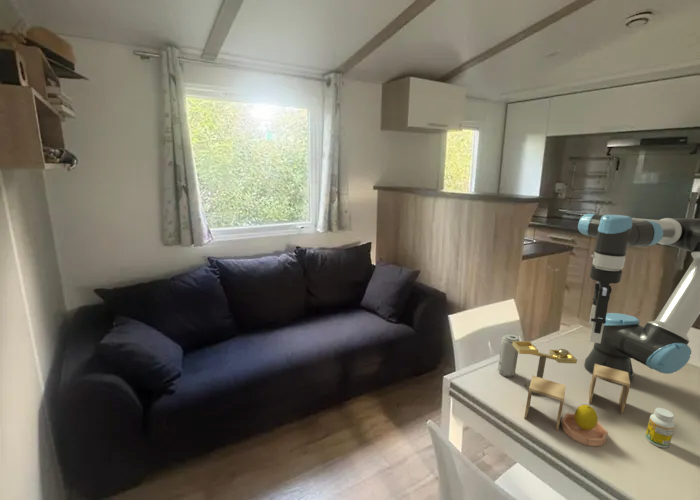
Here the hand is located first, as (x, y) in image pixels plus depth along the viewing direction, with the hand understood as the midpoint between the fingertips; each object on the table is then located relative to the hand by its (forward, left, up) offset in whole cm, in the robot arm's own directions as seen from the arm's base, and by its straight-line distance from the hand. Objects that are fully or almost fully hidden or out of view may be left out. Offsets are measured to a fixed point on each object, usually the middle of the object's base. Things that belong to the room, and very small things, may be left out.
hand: (594, 333), depth 112 cm
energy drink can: (+17, -17, -26) cm, 36 cm away
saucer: (+6, +13, -26) cm, 29 cm away
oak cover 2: (-10, -2, -26) cm, 28 cm away
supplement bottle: (-13, +15, -26) cm, 33 cm away
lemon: (+6, +12, -25) cm, 29 cm away
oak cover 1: (+15, +7, -26) cm, 31 cm away
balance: (+10, -7, -26) cm, 29 cm away
